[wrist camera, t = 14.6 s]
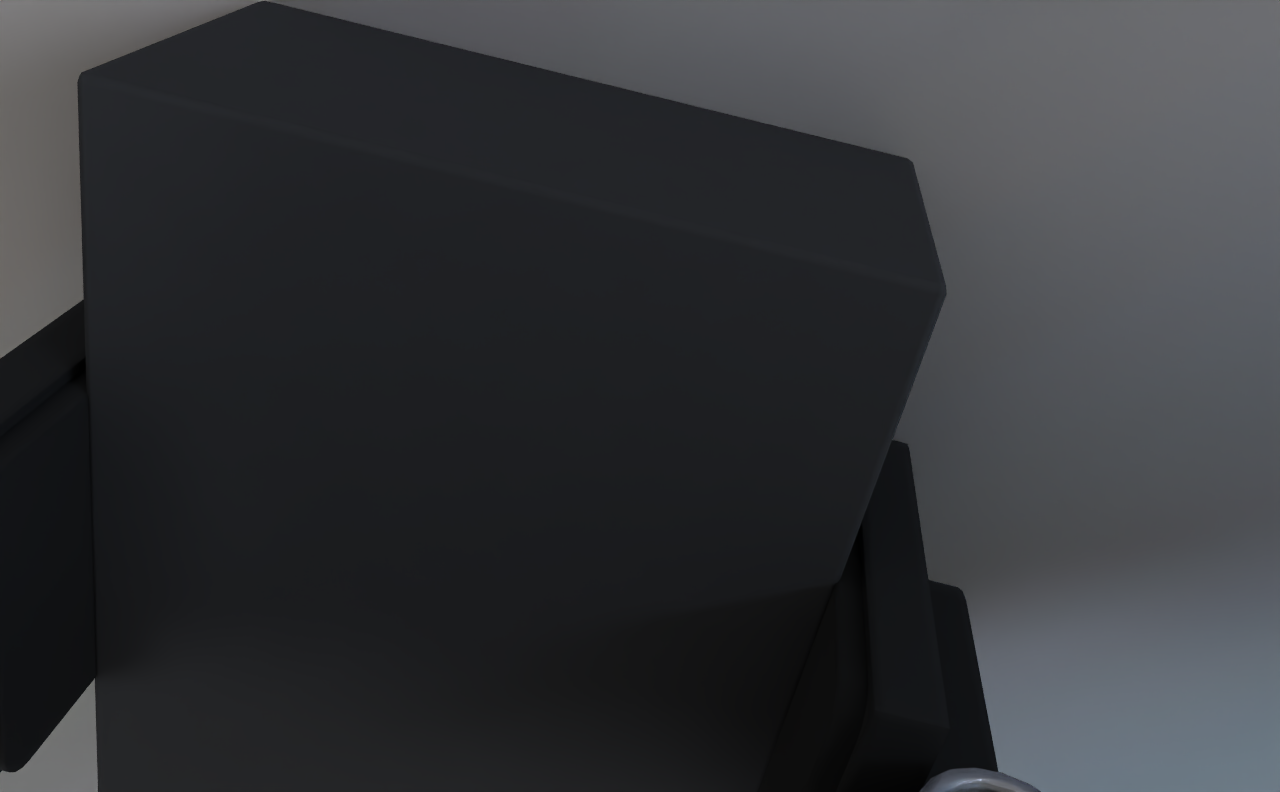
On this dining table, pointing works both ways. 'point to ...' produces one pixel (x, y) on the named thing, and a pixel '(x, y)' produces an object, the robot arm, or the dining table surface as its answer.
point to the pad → (469, 414)
